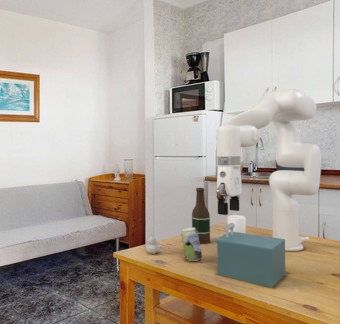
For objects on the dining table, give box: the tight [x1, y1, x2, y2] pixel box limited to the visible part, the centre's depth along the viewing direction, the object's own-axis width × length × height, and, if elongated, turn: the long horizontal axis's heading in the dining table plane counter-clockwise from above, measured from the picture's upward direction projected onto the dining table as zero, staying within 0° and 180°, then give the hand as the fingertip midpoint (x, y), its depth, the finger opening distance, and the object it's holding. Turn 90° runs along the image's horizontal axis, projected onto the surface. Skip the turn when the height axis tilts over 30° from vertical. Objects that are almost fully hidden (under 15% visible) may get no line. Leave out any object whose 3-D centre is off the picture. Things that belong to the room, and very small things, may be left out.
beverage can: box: [180, 227, 203, 262], centre depth 126 cm, size 6×7×12 cm
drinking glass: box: [226, 214, 247, 234], centre depth 130 cm, size 7×7×15 cm
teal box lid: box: [214, 223, 285, 251], centre depth 110 cm, size 17×14×5 cm
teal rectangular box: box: [216, 242, 286, 289], centre depth 110 cm, size 17×14×11 cm
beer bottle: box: [191, 187, 211, 245], centre depth 150 cm, size 8×8×24 cm
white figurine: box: [145, 233, 163, 255], centre depth 136 cm, size 5×7×8 cm
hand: (228, 212), depth 115 cm, fingers open, 9 cm apart
